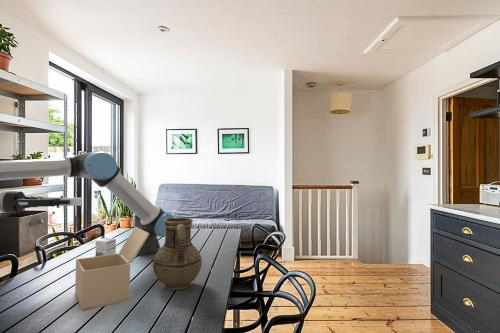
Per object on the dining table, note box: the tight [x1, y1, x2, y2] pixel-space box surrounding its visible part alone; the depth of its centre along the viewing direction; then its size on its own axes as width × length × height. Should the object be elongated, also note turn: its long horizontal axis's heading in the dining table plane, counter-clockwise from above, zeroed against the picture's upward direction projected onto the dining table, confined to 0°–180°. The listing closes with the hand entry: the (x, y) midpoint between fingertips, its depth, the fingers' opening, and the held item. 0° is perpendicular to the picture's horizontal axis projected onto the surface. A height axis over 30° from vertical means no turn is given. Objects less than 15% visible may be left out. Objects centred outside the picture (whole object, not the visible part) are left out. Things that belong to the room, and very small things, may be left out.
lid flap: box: [118, 227, 149, 264], centre depth 112 cm, size 15×11×1 cm
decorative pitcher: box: [152, 217, 203, 291], centre depth 117 cm, size 22×18×25 cm
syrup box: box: [95, 237, 117, 257], centre depth 130 cm, size 6×6×14 cm
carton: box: [74, 253, 131, 312], centre depth 106 cm, size 16×14×12 cm
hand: (81, 201), depth 110 cm, fingers closed
